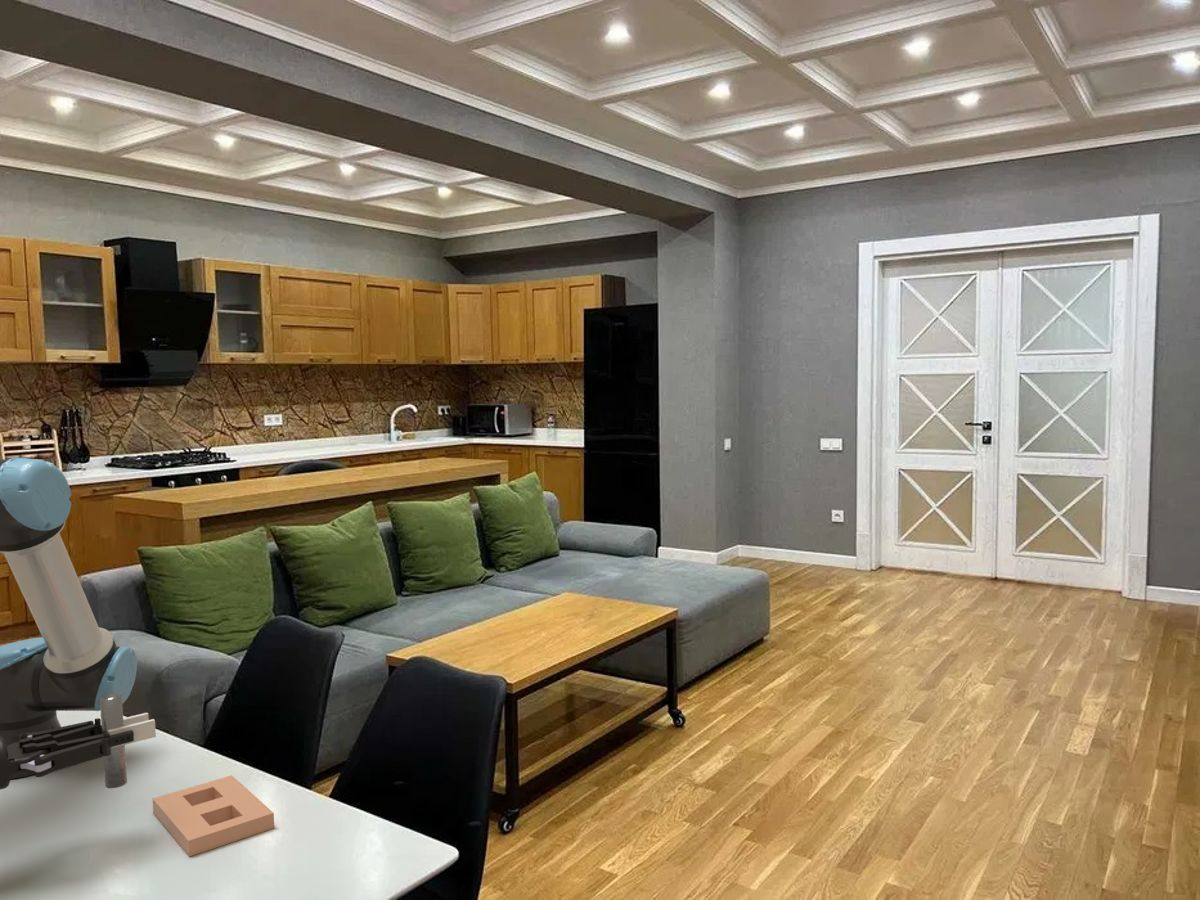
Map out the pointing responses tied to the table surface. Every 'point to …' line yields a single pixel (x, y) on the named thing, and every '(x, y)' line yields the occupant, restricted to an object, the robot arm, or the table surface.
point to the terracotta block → (212, 814)
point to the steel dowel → (117, 759)
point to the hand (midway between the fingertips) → (151, 724)
